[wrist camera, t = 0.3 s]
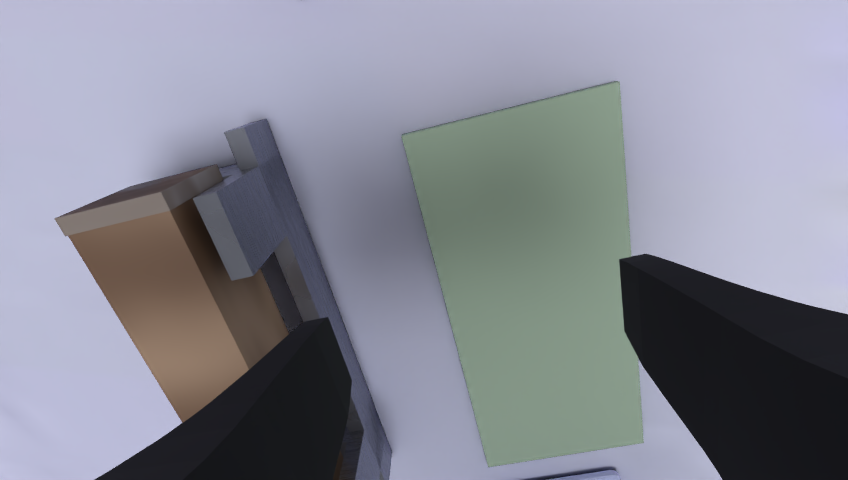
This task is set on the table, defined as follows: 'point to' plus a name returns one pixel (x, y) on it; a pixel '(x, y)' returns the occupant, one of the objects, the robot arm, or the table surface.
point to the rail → (176, 288)
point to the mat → (535, 270)
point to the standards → (288, 270)
